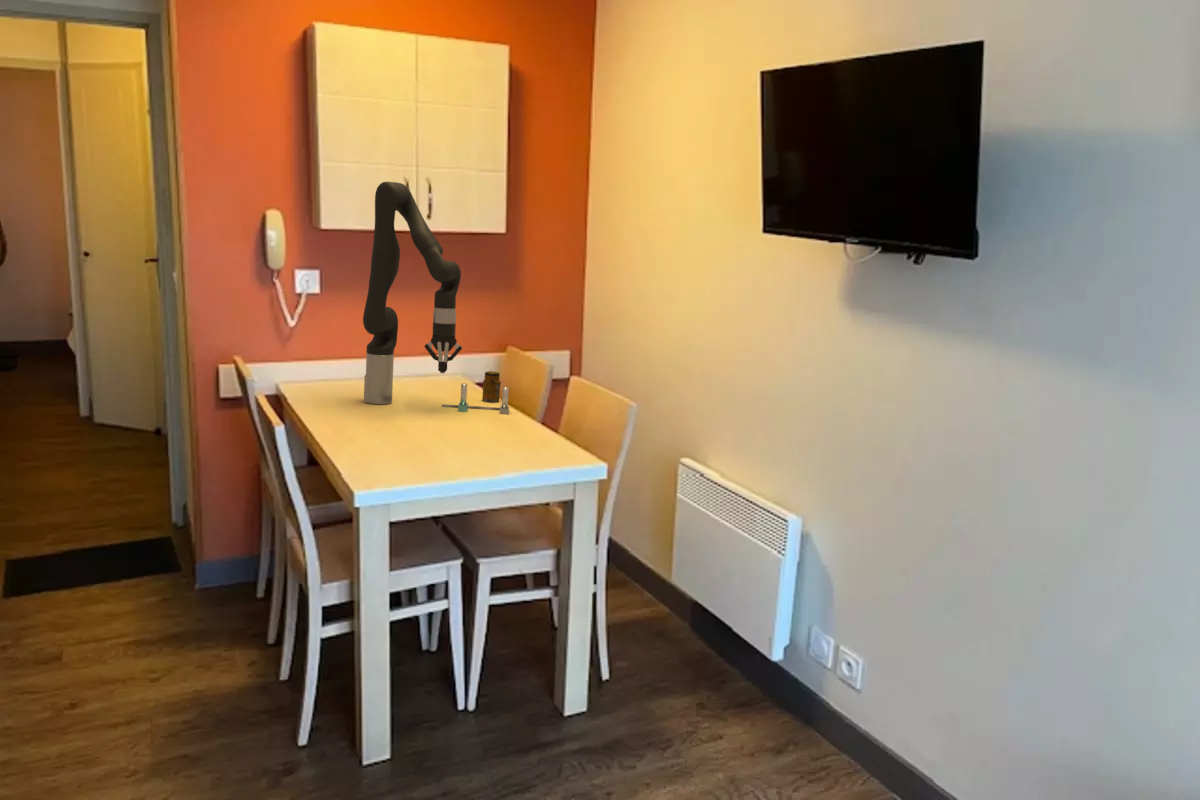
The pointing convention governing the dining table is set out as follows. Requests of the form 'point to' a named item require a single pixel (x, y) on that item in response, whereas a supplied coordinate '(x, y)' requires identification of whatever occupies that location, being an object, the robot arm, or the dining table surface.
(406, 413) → the dining table surface
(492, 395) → the condiment
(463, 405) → the slider leg
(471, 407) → the gauge board
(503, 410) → the fixed leg
